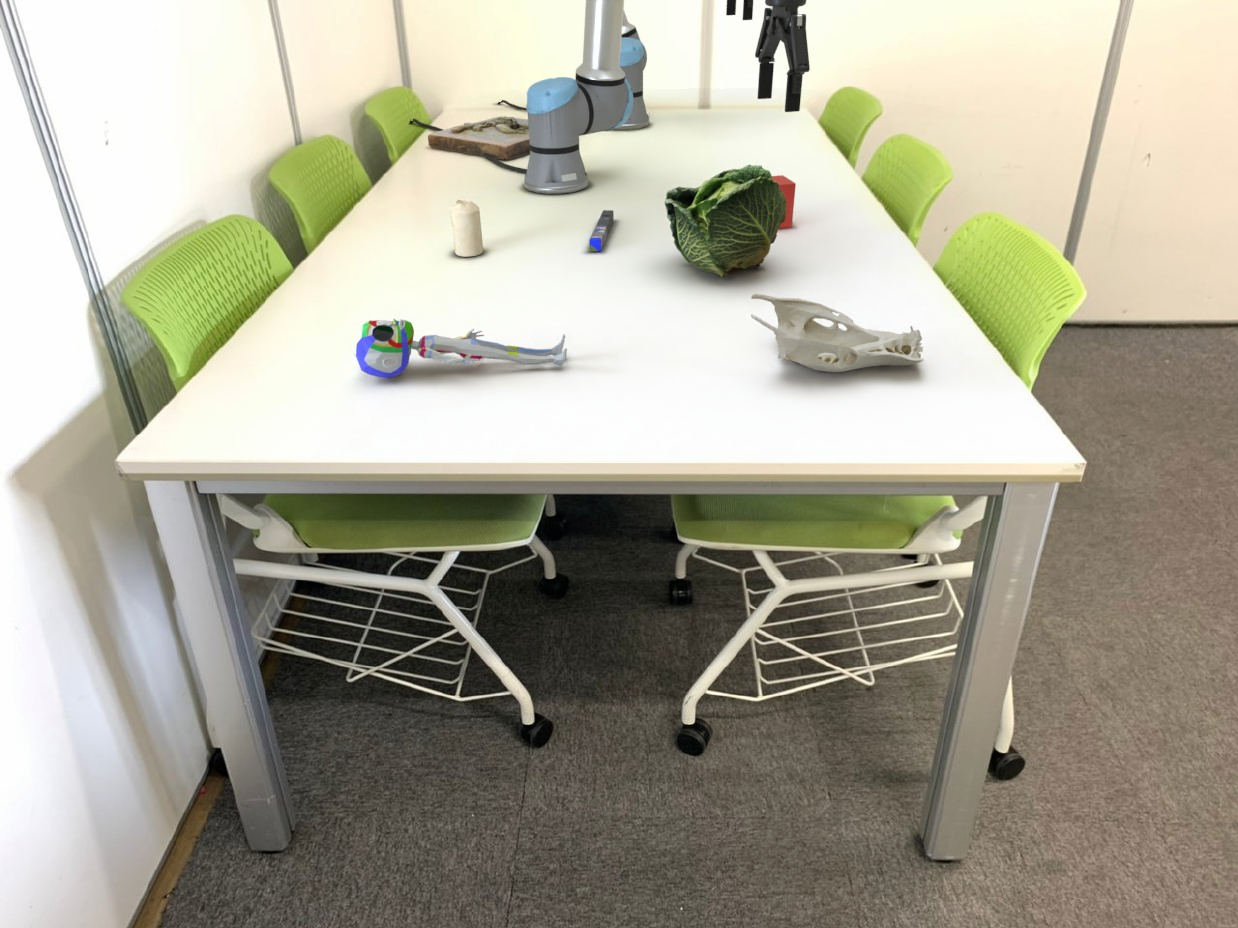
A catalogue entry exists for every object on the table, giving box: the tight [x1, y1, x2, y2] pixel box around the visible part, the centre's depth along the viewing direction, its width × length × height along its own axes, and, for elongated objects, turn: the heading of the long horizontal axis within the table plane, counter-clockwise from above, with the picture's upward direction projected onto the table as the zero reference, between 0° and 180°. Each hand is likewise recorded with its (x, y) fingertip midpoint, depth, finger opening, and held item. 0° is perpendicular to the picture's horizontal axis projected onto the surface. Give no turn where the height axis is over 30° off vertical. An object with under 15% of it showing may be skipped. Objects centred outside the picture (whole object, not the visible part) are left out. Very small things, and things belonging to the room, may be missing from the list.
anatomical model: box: [750, 293, 925, 373], centre depth 129 cm, size 15×9×25 cm
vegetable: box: [664, 164, 787, 278], centre depth 161 cm, size 20×19×20 cm
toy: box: [353, 318, 568, 379], centre depth 130 cm, size 10×8×30 cm
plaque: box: [427, 115, 530, 161], centre depth 252 cm, size 30×7×30 cm
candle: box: [449, 199, 484, 258], centre depth 172 cm, size 6×6×10 cm
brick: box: [771, 174, 797, 230], centre depth 185 cm, size 8×7×9 cm
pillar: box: [588, 209, 615, 252], centre depth 182 cm, size 2×2×20 cm
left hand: (777, 105), depth 175 cm, fingers open, 13 cm apart
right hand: (738, 17), depth 265 cm, fingers open, 13 cm apart
